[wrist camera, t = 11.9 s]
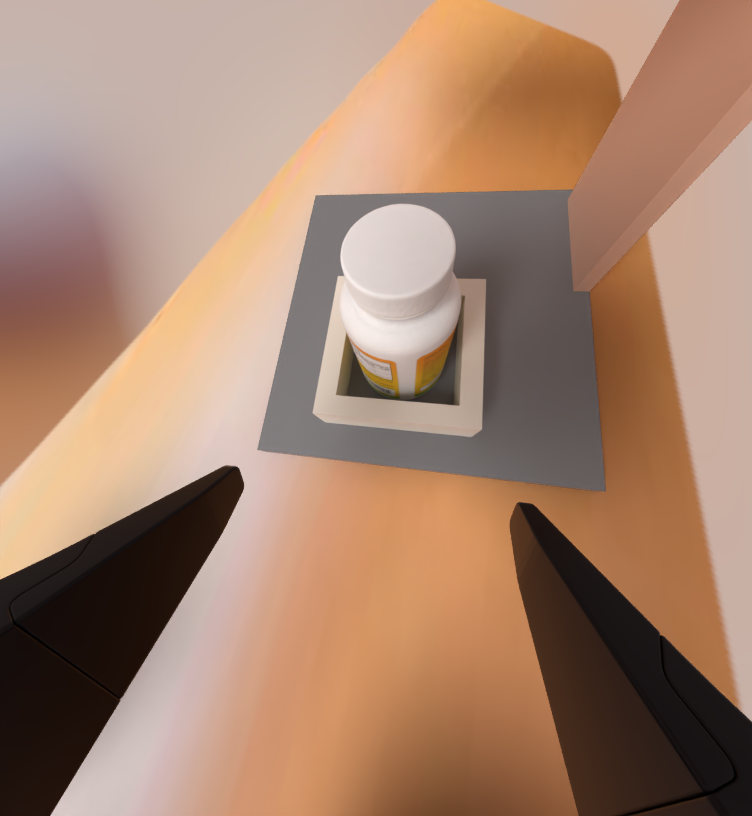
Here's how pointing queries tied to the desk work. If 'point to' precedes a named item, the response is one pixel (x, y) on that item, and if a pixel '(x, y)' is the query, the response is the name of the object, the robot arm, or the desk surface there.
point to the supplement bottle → (400, 297)
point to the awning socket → (516, 286)
